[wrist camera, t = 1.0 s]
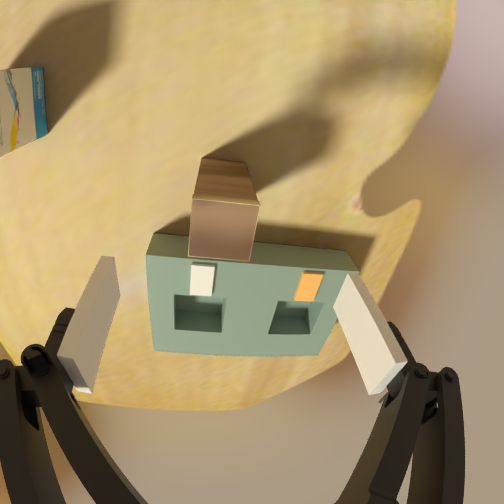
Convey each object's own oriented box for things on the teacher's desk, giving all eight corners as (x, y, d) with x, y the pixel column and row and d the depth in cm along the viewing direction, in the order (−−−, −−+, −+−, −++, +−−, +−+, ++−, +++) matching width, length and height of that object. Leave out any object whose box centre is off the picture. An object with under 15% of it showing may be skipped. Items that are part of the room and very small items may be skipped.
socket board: (153, 233, 32) (144, 257, 27) (346, 250, 36) (361, 273, 32) (157, 327, 40) (153, 352, 36) (311, 333, 44) (318, 357, 40)
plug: (201, 157, 27) (192, 198, 18) (246, 162, 28) (260, 205, 19) (196, 198, 30) (187, 256, 21) (239, 202, 31) (249, 261, 22)
